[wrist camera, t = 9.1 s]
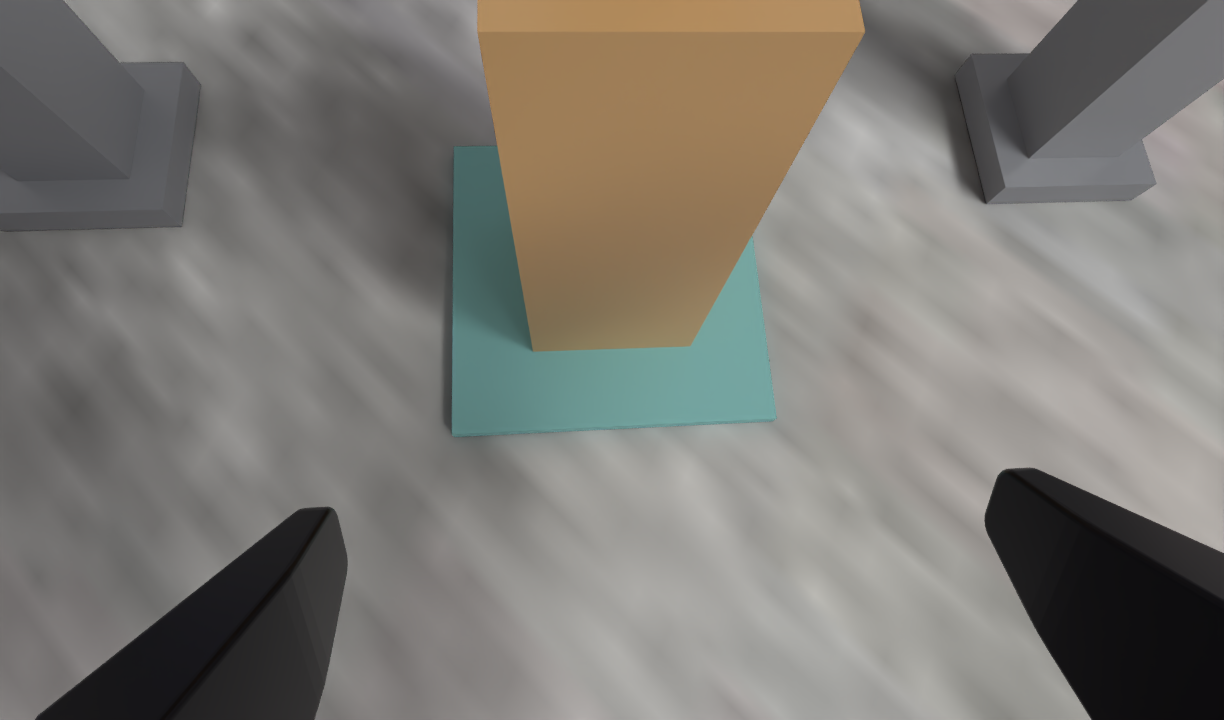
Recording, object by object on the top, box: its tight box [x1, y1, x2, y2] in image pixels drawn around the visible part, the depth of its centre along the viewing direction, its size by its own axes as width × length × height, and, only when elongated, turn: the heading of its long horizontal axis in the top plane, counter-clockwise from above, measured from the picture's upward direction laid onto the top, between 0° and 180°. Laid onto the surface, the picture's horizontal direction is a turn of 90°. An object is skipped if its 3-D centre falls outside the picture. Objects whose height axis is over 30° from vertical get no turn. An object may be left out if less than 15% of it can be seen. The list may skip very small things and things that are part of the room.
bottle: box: [477, 0, 865, 352], centre depth 13 cm, size 4×4×15 cm
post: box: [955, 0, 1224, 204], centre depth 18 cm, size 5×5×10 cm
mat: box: [452, 146, 777, 437], centre depth 20 cm, size 9×9×1 cm
